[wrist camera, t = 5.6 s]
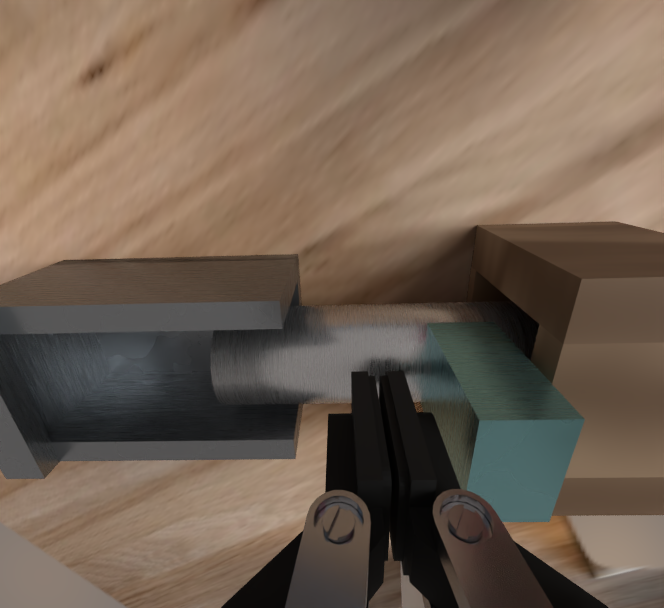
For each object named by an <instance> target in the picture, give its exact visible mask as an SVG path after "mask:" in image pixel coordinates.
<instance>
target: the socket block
mask: <svg viewBox="0 0 664 608" xmlns="http://www.w3.org/2000/svg"><path fill="white" fill-rule="evenodd" d="M501 301H513V302H514V303H515V304H516V305H517V306H518V307H520V308H521V309H522V310H523V311H524V312H526V313H527V314H528V315H529V316H530V317H532V318H533V319H534V320H535V321H536V322H537V323H539V328H538V333H537V337H536V341H535V345H534V349H533V353H532V357H531V362H532V363H533V364H534V365H535V366H536V367H537V368H538V370H539V371H540V372H541V373H542V374H543V375H544V376H545V377H546V378H547V379H548V380H549V381H550V382H551V384H552V385H553V386H554V387H555V388H556V389H557V390H558V391H559V392H560V393H561V394H562V395H563V396H564V397H565V399H566V400H567V401H568V402H569V403H570V404H571V405H572V406H573V407H574V408H575V409H576V410H577V411H578V412H579V414H580V415H581V416H582V417H583V418H584V419H585V421H584V424H583V426H582V429H581V432H580V435H579V438H578V441H577V444H576V447H575V449H574V452H573V455H572V458H571V461H570V464H569V467H568V469H567V472H566V475H565V478H564V481H563V484H562V487H561V490H560V492H559V495H558V498H557V501H556V504H555V507H554V510H553V513H552V515H551V516H565V515H664V233H661V232H657V231H653V230H649V229H645V228H640V227H636V226H632V225H628V224H624V223H620V222H586V223H549V224H512V225H477V230H476V237H475V244H474V251H473V258H472V265H471V273H470V280H469V287H468V294H467V301H466V302H501Z"/></svg>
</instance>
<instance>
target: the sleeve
mask: <svg viewBox="0 0 664 608" xmlns="http://www.w3.org/2000/svg"><path fill="white" fill-rule="evenodd" d="M289 306H302V303H301V290H300V276H299V262H298V254H293V255H254V256H214V257H175V258H136V259H96V260H63V261H61V262H58V263H56V264H53V265H51V266H48V267H45V268H43V269H40V270H38V271H35V272H32V273H30V274H27V275H25V276H22V277H20V278H17V279H14V280H12V281H9V282H7V283H4V284H1V285H0V469H1V471H2V473H3V474H4V476H5V478H6V479H44V478H45V477H46V476H47V475H48V474H49V473H50V472H51V471H52V470H53V469H54V467H55V466H56V465H57V464H58V463H59V462H60V461H123V460H227V459H296V451H297V444H298V437H299V430H300V423H301V415H302V408H303V404H250V405H223V404H221V403H220V402H219V400H218V399H217V397H216V395H215V392H214V388H213V384H212V378H211V367H210V354H211V342H212V336H213V331H214V330H255V329H282V328H283V325H284V322H285V319H286V316H287V313H288V310H289Z"/></svg>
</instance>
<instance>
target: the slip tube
mask: <svg viewBox="0 0 664 608" xmlns="http://www.w3.org/2000/svg"><path fill="white" fill-rule="evenodd" d="M538 328H539V323H537V322H536V321H535V320H534V319H533V318H532V317H530V316H529V315H528V314H527V313H526V312H524V311H523V310H522V309H521V308H520V307H518V306H517V305H516V304H515V303H514V302H513V301H501V302H455V303H408V304H362V305H315V306H289V310H288V313H287V316H286V319H285V322H284V325H283V328H282V329H255V330H214V331H213V336H212V342H211V354H210V367H211V378H212V384H213V388H214V392H215V395H216V397H217V399H218V400H219V402H220V403H221V404H223V405H250V404H323V403H352V399H351V372H356V371H368V374H369V376H375V379H376V385H377V391H378V397H379V377H380V376H385V374H386V371H404V373H405V377H406V380H407V383H408V386H409V390H410V393H411V396H412V400H413V402H421V405H422V408H423V411H424V412H431V413H432V414H433V415H434V417H435V420H436V423H437V425H438V428H439V431H440V434H441V436H442V439H443V442H444V445H445V447H446V450H447V453H448V455H449V458H450V461H451V464H452V466H453V469H454V472H455V474H456V477H457V480H458V483H459V485H460V488H461V489H463V490H467V491H470V492H473V493H475V494H476V495H478V496H480V497H482V498H483V499H484V500H485V501H487V502H488V503H489V504H490V505H491V506H492V508H493V509H494V510H495V512H496V513H497V514H498V516H499V518H500V519H501V521H502V522H549V521H550V518H551V515H552V513H553V510H554V507H555V504H556V501H557V498H558V495H559V492H560V490H561V487H562V484H563V481H564V478H565V475H566V472H567V469H568V467H569V464H570V461H571V458H572V455H573V452H574V449H575V447H576V444H577V441H578V438H579V435H580V432H581V429H582V426H583V424H584V421H585V419H584V418H583V417H582V416H581V415H580V414H579V412H578V411H577V410H576V409H575V408H574V407H573V406H572V405H571V404H570V403H569V402H568V401H567V400H566V399H565V397H564V396H563V395H562V394H561V393H560V392H559V391H558V390H557V389H556V388H555V387H554V386H553V385H552V384H551V382H550V381H549V380H548V379H547V378H546V377H545V376H544V375H543V374H542V373H541V372H540V371H539V370H538V368H537V367H536V366H535V365H534V364H533V363H532V362H531V357H532V353H533V349H534V345H535V341H536V337H537V333H538Z"/></svg>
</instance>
